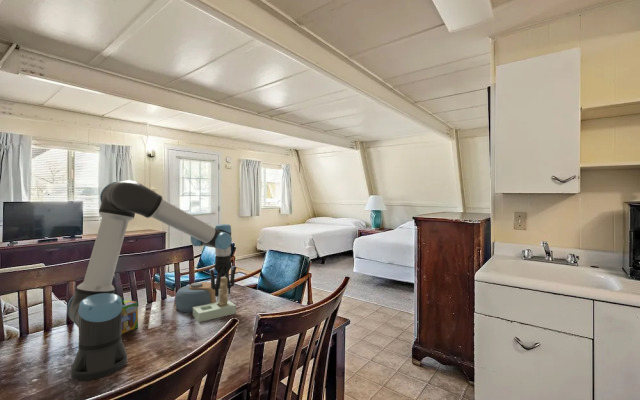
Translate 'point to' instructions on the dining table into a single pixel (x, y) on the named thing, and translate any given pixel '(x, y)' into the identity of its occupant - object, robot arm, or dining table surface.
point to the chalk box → (129, 315)
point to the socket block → (213, 311)
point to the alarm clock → (194, 296)
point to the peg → (223, 292)
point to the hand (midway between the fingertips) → (222, 301)
